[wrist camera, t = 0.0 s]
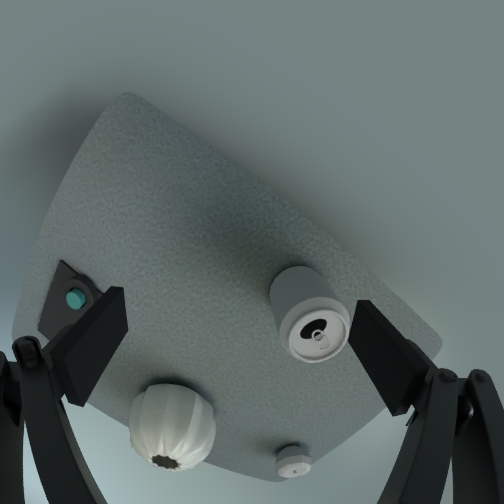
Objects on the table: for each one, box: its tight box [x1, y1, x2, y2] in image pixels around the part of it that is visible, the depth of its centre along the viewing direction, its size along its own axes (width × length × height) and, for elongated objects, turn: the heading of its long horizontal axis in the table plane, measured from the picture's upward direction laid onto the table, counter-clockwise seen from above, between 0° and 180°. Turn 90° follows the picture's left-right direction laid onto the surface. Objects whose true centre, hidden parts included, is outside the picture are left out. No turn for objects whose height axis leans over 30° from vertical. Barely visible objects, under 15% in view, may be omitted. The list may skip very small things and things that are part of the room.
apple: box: [275, 445, 312, 478], centre depth 44 cm, size 8×8×7 cm
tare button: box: [66, 288, 86, 309], centre depth 33 cm, size 3×3×2 cm
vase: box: [129, 383, 216, 471], centre depth 35 cm, size 14×14×13 cm
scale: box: [38, 260, 103, 340], centre depth 36 cm, size 17×11×2 cm, turn 143°
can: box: [269, 266, 350, 363], centre depth 31 cm, size 8×8×12 cm
